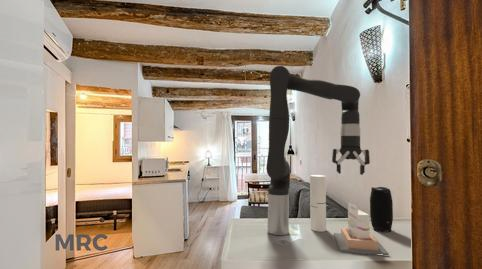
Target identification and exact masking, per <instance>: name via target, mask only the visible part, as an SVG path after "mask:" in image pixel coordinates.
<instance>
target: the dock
mask: <svg viewBox="0 0 482 269" xmlns="http://www.w3.org/2000/svg"><path fill="white" fill-rule="evenodd" d="M333 237H334V239H335V241H336V244H337V247H338V248H339V251H340V253H349V254H350V253H352V254H363V255H370V254H383V255H389V254H390V253H389V252H388V251H387V250H386V248H385V247H384V246H383V245H382V244H381V243H380V242H379V240H378V239H377V238H376V237H375V236H374V235H373V234H372V233H371V232H370V240H363V239H351V238H350V236H349V234H348V227H340V232H333ZM389 256H390V255H389Z"/></svg>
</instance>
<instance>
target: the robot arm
mask: <svg viewBox="0 0 482 269" xmlns="http://www.w3.org/2000/svg"><path fill="white" fill-rule="evenodd" d="M269 89H270V102H269V115H268V151H267V152H268V153H267V159H266V161H267V162H266V170H265V171H266V173H267V175H268V176H269V178H270V183H269V186H268V189H267V190H268V195H267V198H268V199H267V200H268V202H267V234H271V235H275V236H285V235H288V234H289V232H290V230H289V229H290V221H289V220H290V218H289V217H290V216H289V215H290V209H289V208H290V206H289V204H290V200H289V198H290V197H289V196H290V195H289V192H290V188H291V186H290V185H291V168H290V163H289V162H288V161H287V160H286V159H285V158H286V157H285V150H286V149H285V148H286V143H287V140H288V136H289V132H290V111H289V110H290V109H289V104H288V96H287V95H288V90H291V91H297V92H301V93H305V94H309V95H311V96H315V97H319V98H322V99H326V100H337V101H339V102H341V118H340V119H341V127H340V148H339V149H338V148H333V149H332V155H331V156H332V158H331V162H332V163H334V164H336V172H337V174H338V175H339V174H341V173H342V171H341V169H342V167H341V166H342V162H343V161H344V160H356V161H357V162H358V163H359V164H360V165H359V175H361V176H363V174H365V171H366V169H365V166H366V165H369V164H370V162H371V161H370V150H369V149H362V148H361V127H360V125H361V124H360V120H361V118H360V117H361V115H360V112H359V101H360V97H361V93H360V90H359V88H357V87H355V86H352V85H345V84H338V83H337V84H336V83H333V82H330V81H326V80H325V81H324V80H321V79H314V78H312V79H311V78H304V77H299V76H297V75H295V74H292V73H290V71H289V69H288V68H287V67H285V66H283V65H276V66H274V67H273V68H272V70H271V71H270V73H269ZM339 153H340V154H341V156H340V157H339V159H338V160H337V155H338V154H339ZM361 154H363V156H364V161H363V159H362V158H361V156H360V155H361Z"/></svg>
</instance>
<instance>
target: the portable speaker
mask: <svg viewBox="0 0 482 269" xmlns="http://www.w3.org/2000/svg"><path fill="white" fill-rule="evenodd" d="M391 192H392V191H391V189H390V188H388V187H386V186H385V187H384V186H378V187H371V191H370V196H369V210H370V211H369V219H370V222H371V226H372V227H371V228H373V230H374V231H376V232H380V233H383V232H384V231H388V232H389V233H390V232H392V227H393V220H394V211H393V209H394V208H393V207H394V206H393V205H394V204H393V197H392V193H391Z"/></svg>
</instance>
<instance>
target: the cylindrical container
mask: <svg viewBox="0 0 482 269" xmlns="http://www.w3.org/2000/svg"><path fill="white" fill-rule="evenodd" d="M326 178H327V176H326V175H323V174H311V175H309V195H310V197H309V201H310V202H309V204H310V206H309V208H310V209H309V210H310V215H309V216H310V220H309V221H310V223H309V224H310V227H309V228H310V230H311V231H314V232H327V188H326V187H327V186H326V184H327V183H326V182H327V179H326Z"/></svg>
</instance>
